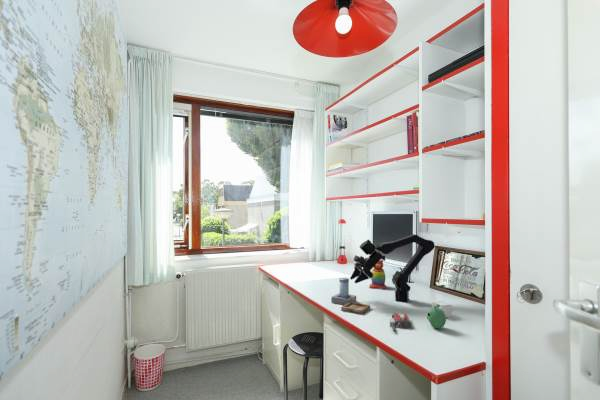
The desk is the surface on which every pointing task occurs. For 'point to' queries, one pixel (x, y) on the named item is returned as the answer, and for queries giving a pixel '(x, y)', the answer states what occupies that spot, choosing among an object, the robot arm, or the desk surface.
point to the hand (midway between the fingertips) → (352, 280)
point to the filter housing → (343, 299)
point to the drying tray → (355, 307)
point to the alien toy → (436, 317)
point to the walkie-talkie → (400, 321)
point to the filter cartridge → (344, 287)
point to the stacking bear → (378, 276)
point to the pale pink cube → (443, 307)
